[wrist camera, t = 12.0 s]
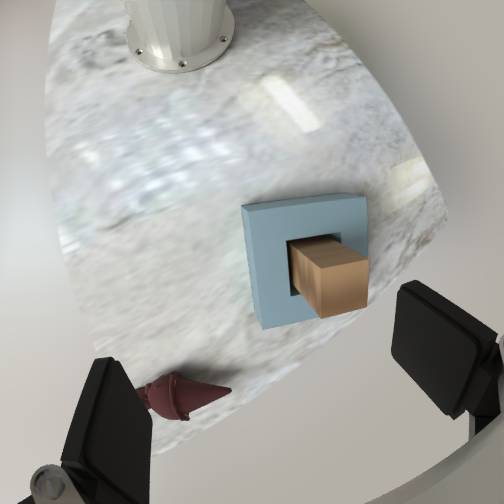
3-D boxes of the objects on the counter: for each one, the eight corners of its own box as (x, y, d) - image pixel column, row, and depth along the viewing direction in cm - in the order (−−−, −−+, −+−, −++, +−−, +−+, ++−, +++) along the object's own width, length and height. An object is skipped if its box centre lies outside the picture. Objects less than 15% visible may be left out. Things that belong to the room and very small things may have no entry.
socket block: (240, 205, 32) (248, 211, 27) (345, 192, 34) (366, 196, 29) (254, 309, 36) (262, 329, 31) (347, 289, 37) (366, 304, 33)
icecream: (224, 378, 30) (110, 388, 30) (237, 426, 31) (129, 433, 30) (226, 355, 37) (127, 367, 37) (237, 399, 38) (143, 408, 37)
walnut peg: (279, 235, 34) (320, 268, 22) (316, 230, 34) (369, 259, 23) (282, 272, 35) (321, 318, 24) (317, 266, 36) (366, 307, 24)
